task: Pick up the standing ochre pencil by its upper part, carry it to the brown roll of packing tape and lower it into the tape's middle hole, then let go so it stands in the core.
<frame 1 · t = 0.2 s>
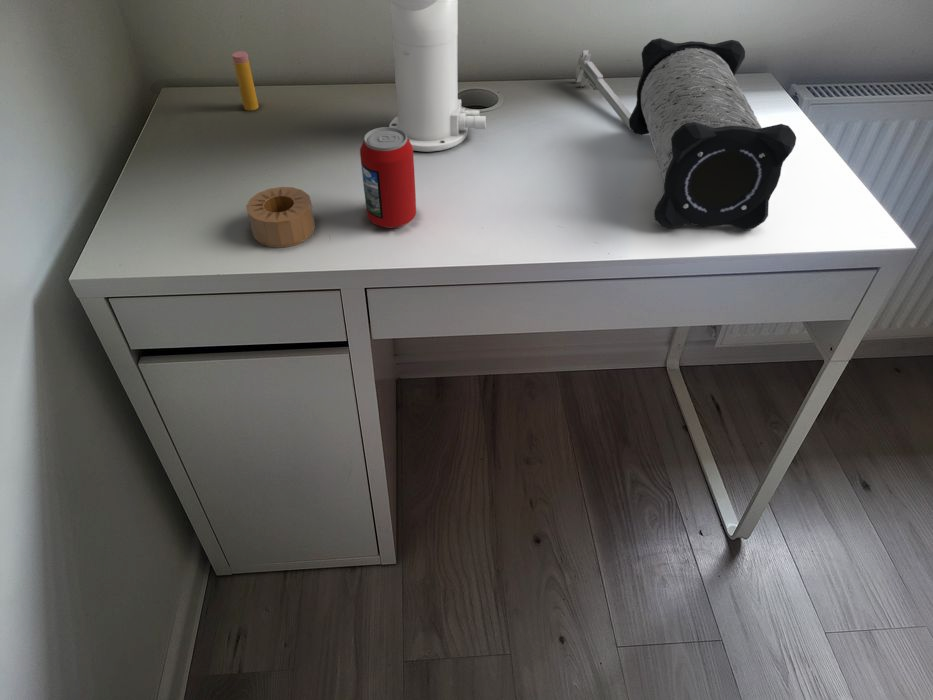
caliper: (605, 107, 121), on the table, touching speaker
tape: (284, 229, 95), on the table
pencil: (251, 107, 120), on the table
beverage can: (392, 218, 97), on the table
speaker: (688, 178, 105), on the table, touching caliper
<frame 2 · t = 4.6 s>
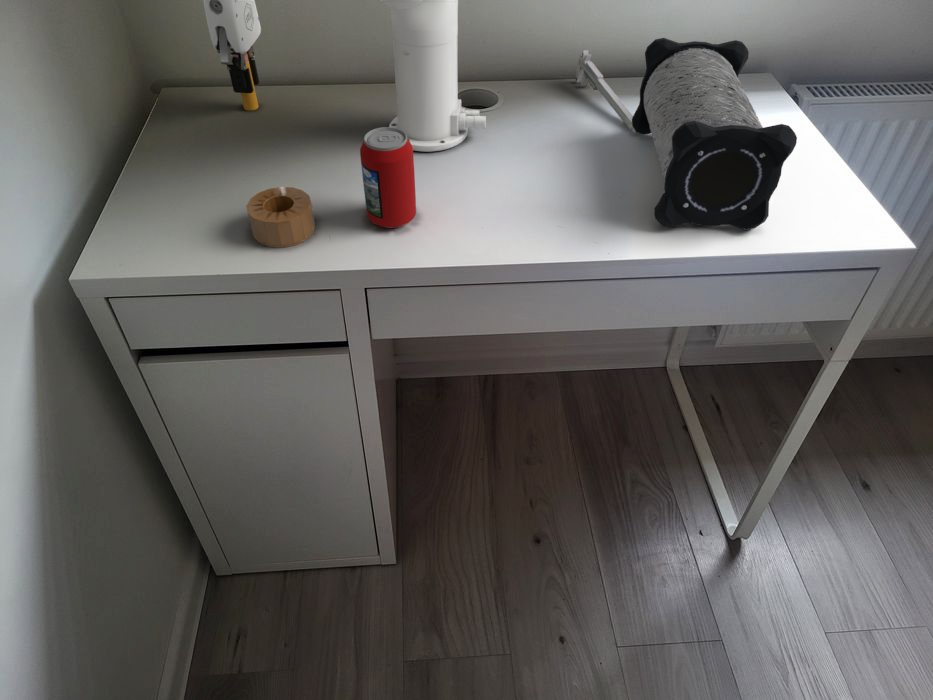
hand: (246, 87, 118), 4 cm above the table, tool pointing down, fingers closed on pencil, 2 cm apart
pencil: (251, 107, 120), on the table, touching gripper
everything else where it was.
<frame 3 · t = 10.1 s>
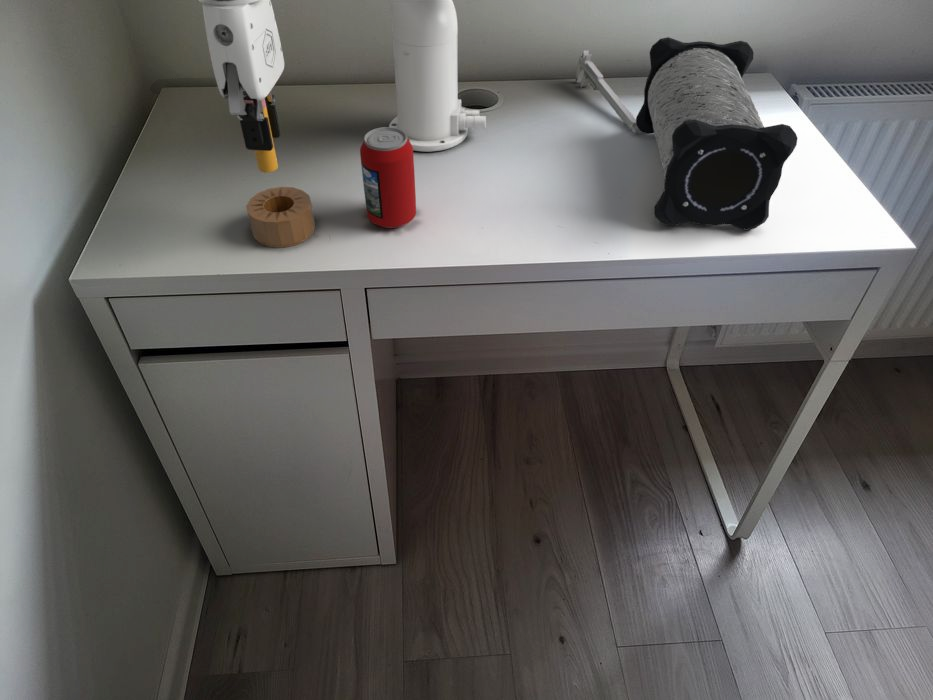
hand: (263, 141, 86), 13 cm above the table, tool pointing down, fingers closed on pencil, 2 cm apart
pencil: (268, 167, 88), point 9 cm above the table, touching gripper
everything else where it was.
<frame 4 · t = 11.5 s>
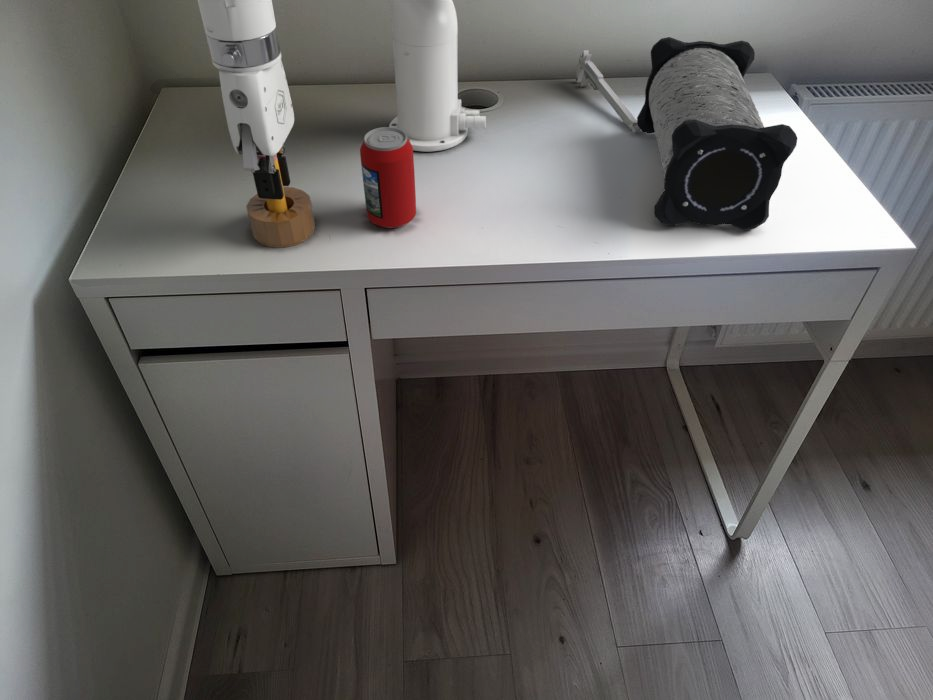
hand: (274, 190, 91), 6 cm above the table, tool pointing down, fingers closed on pencil
pencil: (278, 213, 93), point 3 cm above the table, touching gripper
everything else where it was.
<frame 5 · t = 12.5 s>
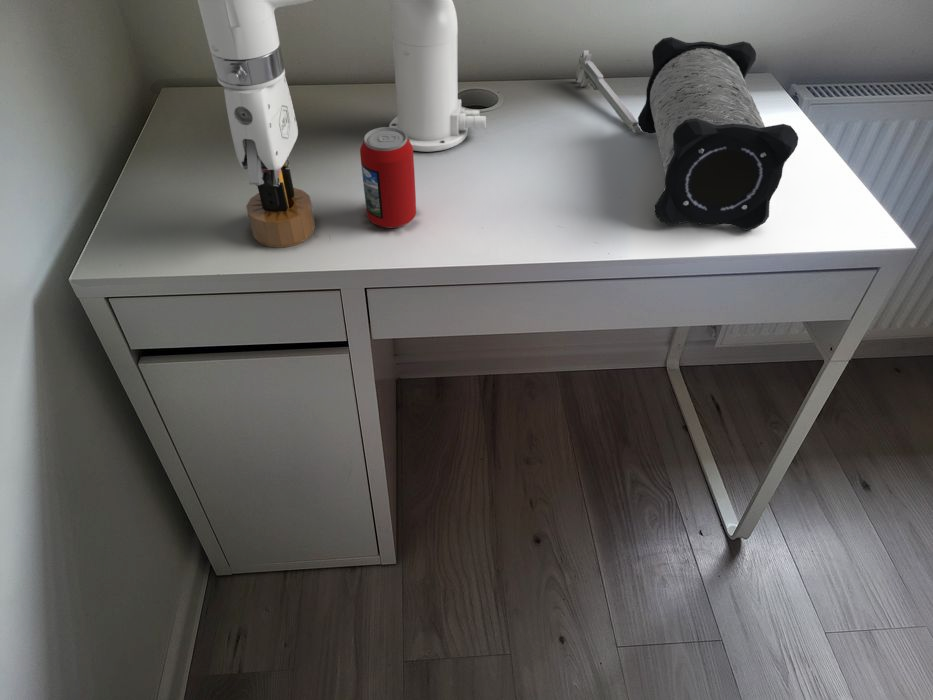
hand: (279, 202, 92), 4 cm above the table, tool pointing down, fingers closed on pencil, 2 cm apart
pencil: (283, 224, 95), point 1 cm above the table, touching gripper
everything else where it was.
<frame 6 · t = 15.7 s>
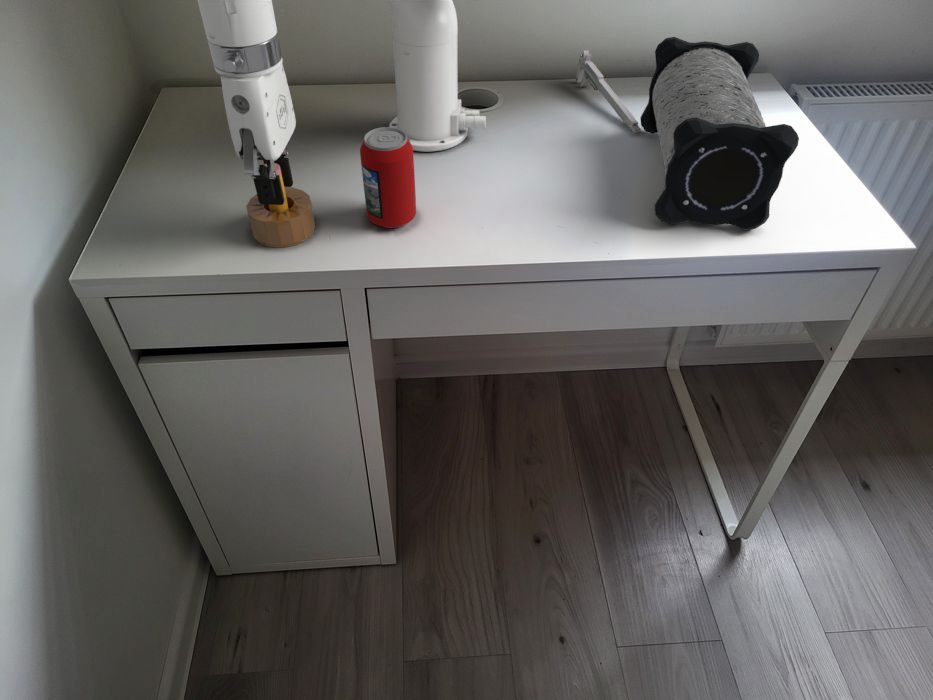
hand: (276, 193, 91), 6 cm above the table, tool pointing down, fingers open, 3 cm apart
caliper: (606, 108, 121), on the table
pencil: (283, 227, 95), resting on tape
speaker: (694, 177, 105), on the table
everything else where it was.
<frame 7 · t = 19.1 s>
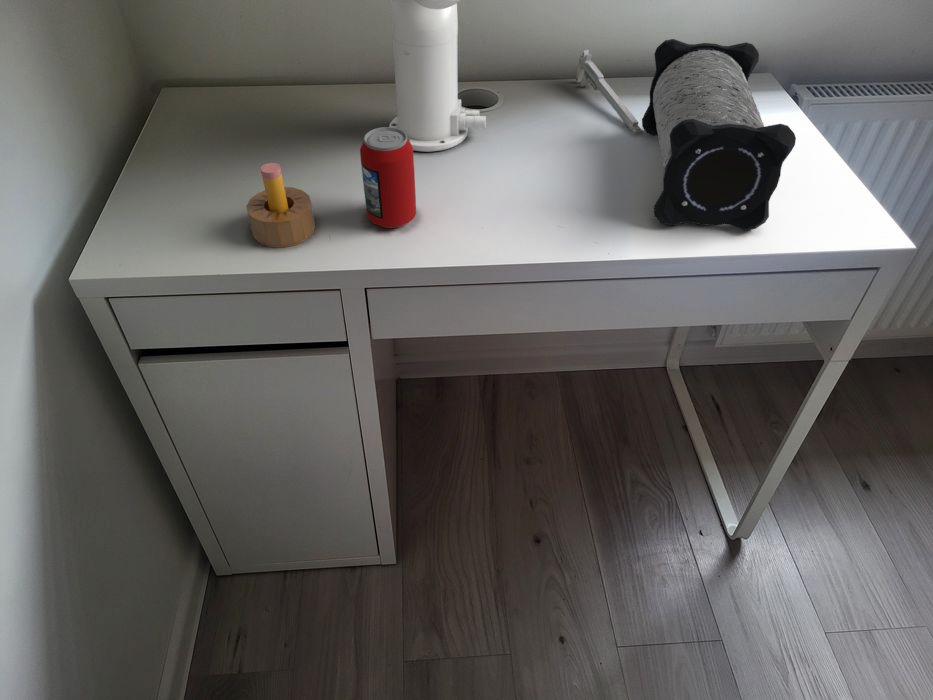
nothing on the table moved.
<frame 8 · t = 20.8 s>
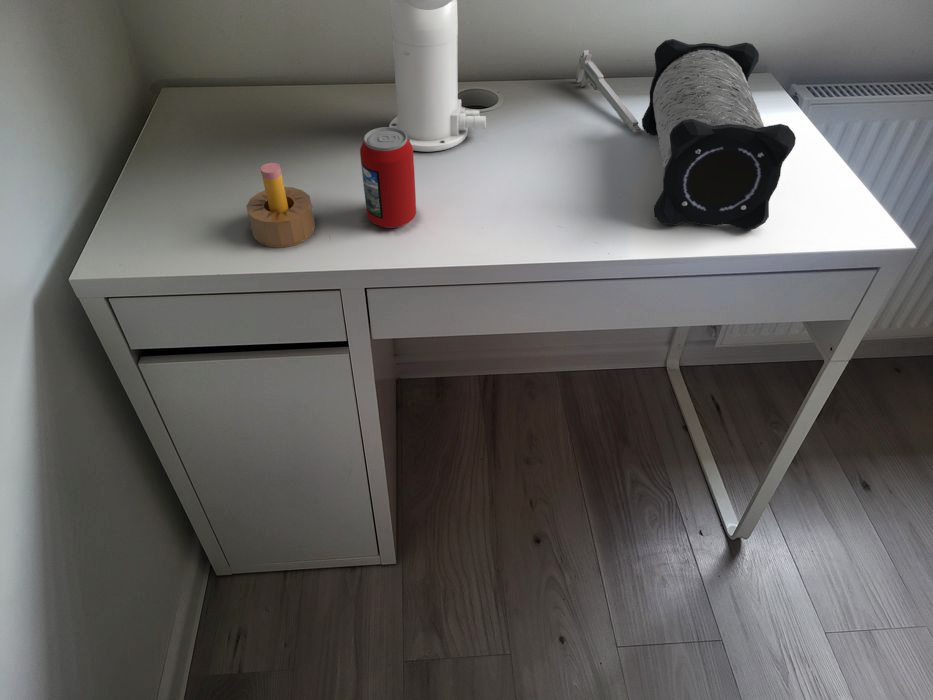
nothing on the table moved.
at the end: pencil 0.1 cm off-centre in the tape, point 0.3 cm above the tape's base; pencil tilted 0°; the gripper is holding nothing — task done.
